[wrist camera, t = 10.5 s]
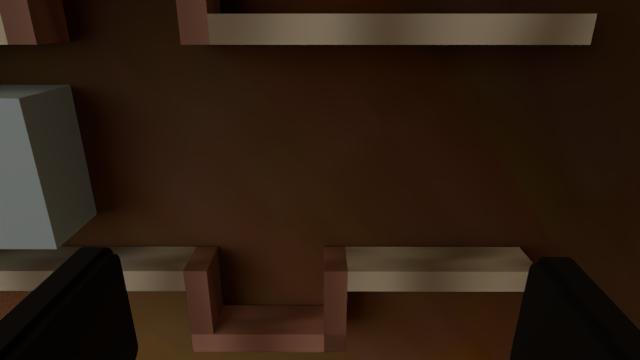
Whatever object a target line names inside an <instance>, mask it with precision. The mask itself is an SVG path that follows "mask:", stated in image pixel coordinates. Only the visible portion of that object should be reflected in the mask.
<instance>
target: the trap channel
mask: <svg viewBox="0 0 640 360" xmlns="http://www.w3.org/2000/svg"><path fill="white" fill-rule="evenodd" d="M176 5H177V14H178V23H179V32H180V41H181V45H590V44H591V40H592V35H593V31H594V26H595V21H596V17H597V14H221V11H220V0H176ZM61 42H70V38H69V33H68V28H67V23H66V18H65V13H64V8H63V3H62V0H0V45H39V44H50V43H61ZM81 247H108V248H110V249H111V250H112V251H113V254H117V255H118V256H119V257H120V260H121V265H122V270H123V275H124V280H125V285H126V290H127V291H186V298H187V306H188V313H189V320H190V328H191V335H192V343H193V350H194V352H346V320H347V291H424V292H524V290H525V286H526V281H527V277H528V272H529V268H530V266H531V264H533V262H532V261H531V260H530V259H529V258H528V257H527V256H526V254H525V253H524V252H523V251H522V250H521V249H520V247H324V305H223V295H222V285H221V275H220V265H219V255H218V247H172V246H60V247H59V248H58V249H0V291H33V290H34V289H36V288H37V287H38V286H39V285H40V284H41V283H42V282H43V281H44V280H45V279H46V278H48V277H49V276H50V275H51V274H52V273H53V272H54V271H55V270H56V269H57V268H59V267H60V266H61V265H62V264H63V263H64V262H65V261H66V260H67V259H68V258H69V257H71V256H72V255H73V254H74V253H75V252H76V251H77V250H78V249H80V248H81Z"/></svg>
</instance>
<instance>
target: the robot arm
mask: <svg viewBox="0 0 640 360" xmlns="http://www.w3.org/2000/svg"><path fill="white" fill-rule="evenodd" d="M137 352H138V343H137V338H136V333H135V329H134V324H133V319H132V314H131V309H130V304H129V299H128V295H127V290H126V285H125V280H124V275H123V270H122V265H121V260H120V257H119V256H118V255H117V254H113V251H112V250H111V249H110V248H108V247H81V248H80V249H78V250H77V251H76V252H75V253H74V254H73V255H72V256H71V257H69V258H68V259H67V260H66V261H65V262H64V263H63V264H62V265H61V266H60V267H59V268H57V269H56V270H55V271H54V272H53V273H52V274H51V275H50V276H49V277H48V278H46V279H45V280H44V281H43V282H42V283H41V284H40V285H39V286H38V287H37V288H36V289H34V290H33V291H32V292H31V293H30V294H29V295H28V296H27V297H26V298H25V299H23V300H22V301H21V302H20V303H19V304H18V305H17V306H16V307H15V308H14V309H12V310H11V311H10V312H9V313H8V314H7V315H6V316H5V317H4V318H3V319H2V320H0V360H135V359H136V356H137ZM510 360H640V330H639V329H638V328H637V327H636V326H635V325H634V324H633V323H632V322H631V321H630V320H629V319H628V318H627V317H626V315H625V314H624V313H623V312H622V311H621V310H620V309H619V308H618V307H617V306H616V305H615V304H614V303H613V302H612V301H611V300H610V299H609V297H608V296H607V295H606V294H605V293H604V292H603V291H602V290H601V289H600V288H599V287H598V286H597V285H596V284H595V283H594V282H593V280H592V279H591V278H590V277H589V276H588V275H587V274H586V273H585V272H584V271H583V270H582V269H581V268H580V267H579V266H578V265H577V264H576V262H575V261H574V260H572V259H571V258H567V257H541V258H540V259H539V260H538V262H537V263H533V264H531V266H530V268H529V272H528V277H527V281H526V286H525V290H524V295H523V300H522V304H521V309H520V313H519V318H518V323H517V327H516V332H515V336H514V341H513V346H512V350H511V355H510Z"/></svg>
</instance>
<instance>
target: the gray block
mask: <svg viewBox="0 0 640 360" xmlns="http://www.w3.org/2000/svg"><path fill="white" fill-rule="evenodd" d="M96 215H97V212H96V207H95V202H94V197H93V192H92V188H91V183H90V178H89V173H88V168H87V164H86V159H85V154H84V149H83V144H82V139H81V135H80V130H79V125H78V120H77V115H76V111H75V106H74V101H73V96H72V91H71V87H70V85H0V249H58V248H59V247H60V246H61V245H62V244H64V243H65V242H66V241H67V240H68V239H69V238H70V237H72V236H73V235H74V234H75V233H76V232H77V231H78V230H80V229H81V228H82V227H83V226H84V225H85V224H86V223H88V222H89V221H90V220H91V219H92V218H93V217H94V216H96Z"/></svg>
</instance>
